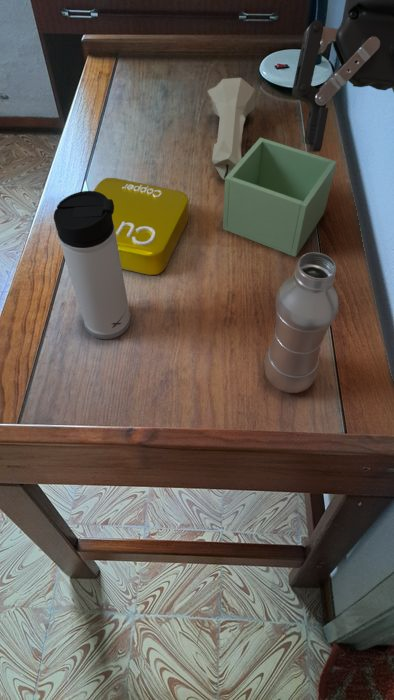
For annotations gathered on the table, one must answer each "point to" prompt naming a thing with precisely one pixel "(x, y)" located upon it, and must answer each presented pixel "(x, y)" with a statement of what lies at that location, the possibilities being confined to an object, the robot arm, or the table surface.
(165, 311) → the table surface
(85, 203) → the travel mug
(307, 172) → the caddy
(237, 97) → the faceted club
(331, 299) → the silver metal bottle
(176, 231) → the element tile
